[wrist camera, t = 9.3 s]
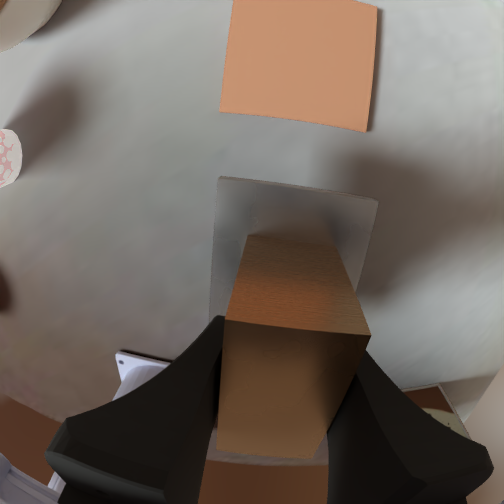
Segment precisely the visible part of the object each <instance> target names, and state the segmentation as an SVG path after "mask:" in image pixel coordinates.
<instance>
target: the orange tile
mask: <svg viewBox="0 0 504 504" xmlns="http://www.w3.org/2000/svg"><path fill="white" fill-rule="evenodd" d="M376 25H377V7H376V6H373V5H369V4H365V3H361V2H357V1H353V0H233V7H232V14H231V21H230V28H229V35H228V43H227V51H226V58H225V67H224V75H223V84H222V93H221V102H220V112H222V113H235V114H247V115H257V116H266V117H275V118H283V119H290V120H297V121H304V122H311V123H317V124H323V125H328V126H334V127H339V128H344V129H349V130H354V131H359V132H364V133H366V129H367V122H368V115H369V107H370V98H371V89H372V79H373V69H374V57H375V43H376Z"/></svg>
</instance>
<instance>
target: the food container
mask: <svg viewBox="0 0 504 504" xmlns="http://www.w3.org/2000/svg"><path fill="white" fill-rule="evenodd" d="M400 390H401V391H402V392H403V393H404V394H405V395H407V396H408V397H409V398H410V399H411V400H412V401H413V402H414V403H415V404H417V405H418V406H419V407H420V408H422V409H423V410H424V411H425V412H427V413H428V414H429V415H431V416H432V417H433V418H435V419H436V420H438V421H439V422H441V423H442V424H444V425H445V426H447V427H448V428H450V429H452V430H453V431H455V432H457V433H458V434H460V435H462V436H464V437H466V438H468V439H470V440H471V438H470V436H469V434H468V432H467V430H466V428H465V427H464V425H463V423H462V421H461V419H460V418H459V416H458V414H457V412H456V410H455V409H454V407H453V405H452V403H451V402H450V400H449V398H448V397H447V395H446V393H445V392H444V390H443V388H442V386H441V385H440V383H436V384H430V385H425V386H419V387H413V388H406V389H400Z"/></svg>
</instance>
